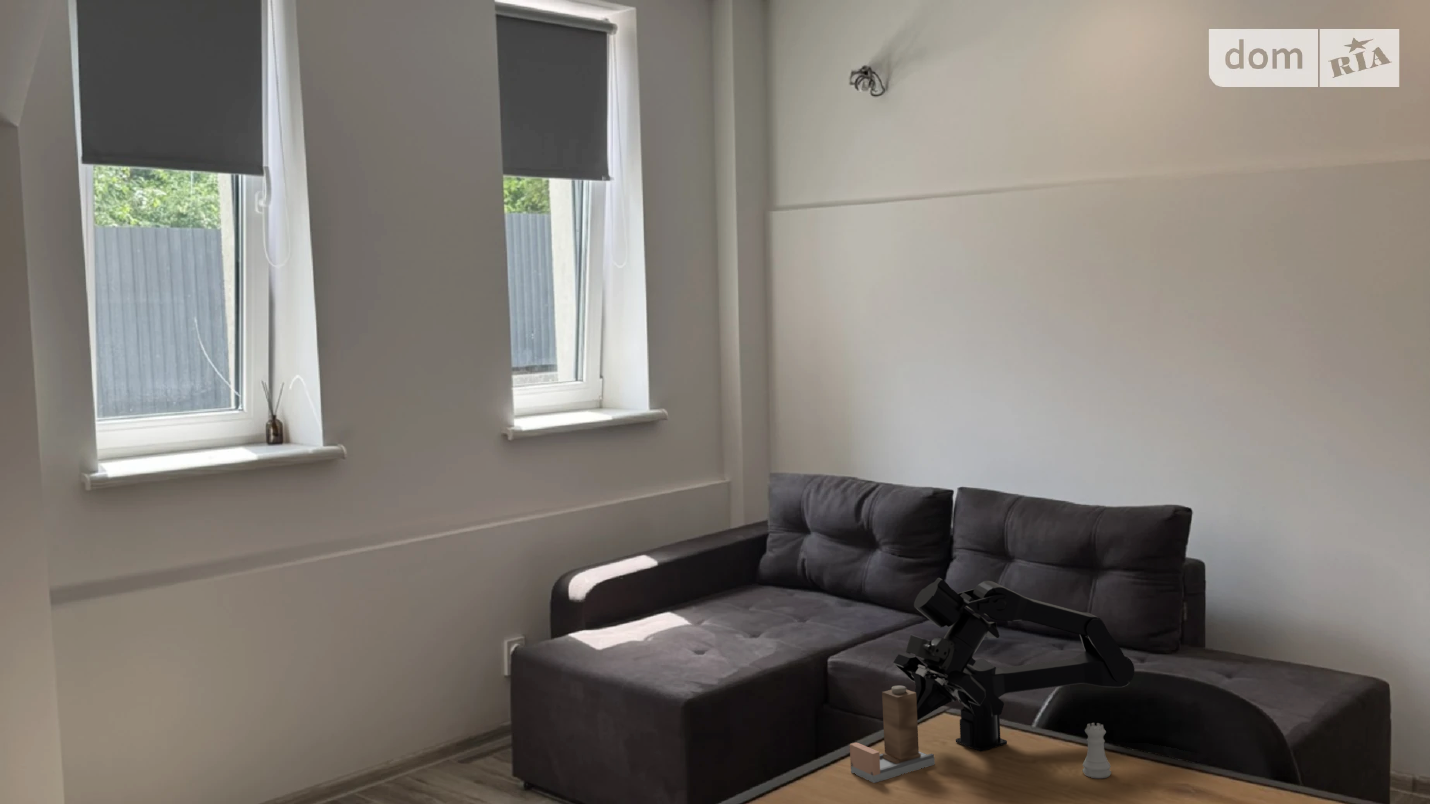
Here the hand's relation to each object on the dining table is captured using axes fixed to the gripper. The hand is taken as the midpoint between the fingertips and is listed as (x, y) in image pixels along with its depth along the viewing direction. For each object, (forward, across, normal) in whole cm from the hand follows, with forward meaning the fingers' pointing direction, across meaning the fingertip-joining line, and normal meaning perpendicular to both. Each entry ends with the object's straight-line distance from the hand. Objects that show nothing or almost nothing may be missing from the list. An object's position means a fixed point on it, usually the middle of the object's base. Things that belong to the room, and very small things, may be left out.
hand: (912, 719), depth 201 cm
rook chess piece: (-8, +22, +19) cm, 30 cm away
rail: (+9, +1, +1) cm, 9 cm away
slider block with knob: (+6, +1, +2) cm, 7 cm away
